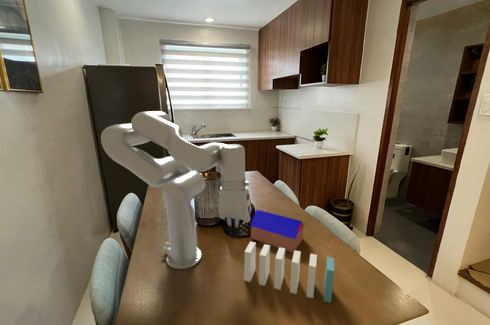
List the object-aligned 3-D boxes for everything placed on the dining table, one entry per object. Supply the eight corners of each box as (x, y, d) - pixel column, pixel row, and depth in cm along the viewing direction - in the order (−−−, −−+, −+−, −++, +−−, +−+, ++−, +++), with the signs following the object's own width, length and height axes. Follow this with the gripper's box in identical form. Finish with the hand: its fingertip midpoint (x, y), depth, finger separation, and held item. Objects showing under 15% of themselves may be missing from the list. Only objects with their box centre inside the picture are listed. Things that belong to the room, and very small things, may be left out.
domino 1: (244, 280, 78) (244, 251, 75) (250, 268, 83) (250, 241, 80) (250, 282, 77) (250, 252, 74) (255, 270, 82) (255, 242, 80)
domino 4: (289, 292, 73) (291, 261, 70) (292, 279, 78) (294, 250, 76) (296, 294, 72) (298, 263, 69) (298, 280, 78) (300, 251, 75)
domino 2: (258, 284, 76) (259, 254, 73) (263, 272, 82) (264, 244, 79) (264, 285, 75) (265, 256, 73) (269, 273, 81) (270, 245, 78)
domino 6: (323, 301, 70) (327, 269, 67) (323, 286, 75) (326, 256, 72) (330, 303, 69) (334, 271, 66) (330, 288, 75) (333, 258, 72)
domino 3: (274, 288, 74) (275, 258, 72) (277, 275, 80) (279, 247, 77) (280, 289, 74) (281, 259, 71) (283, 276, 79) (285, 248, 77)
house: (262, 227, 111) (262, 204, 108) (303, 239, 101) (305, 214, 99) (249, 239, 101) (250, 214, 98) (294, 254, 91) (296, 227, 89)
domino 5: (306, 296, 71) (308, 265, 69) (308, 282, 77) (310, 253, 74) (313, 298, 71) (316, 267, 68) (314, 284, 76) (317, 254, 73)
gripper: (259, 182, 75) (259, 233, 79) (217, 178, 80) (219, 227, 84) (252, 190, 68) (253, 246, 72) (206, 185, 73) (209, 238, 77)
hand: (235, 235), depth 78 cm, fingers closed
